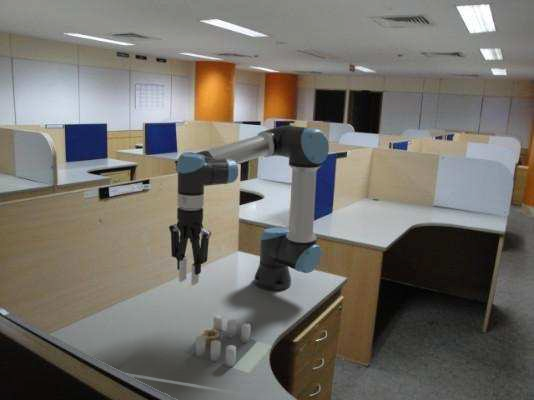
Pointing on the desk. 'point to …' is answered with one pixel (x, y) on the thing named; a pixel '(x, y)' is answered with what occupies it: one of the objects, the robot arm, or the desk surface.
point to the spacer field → (231, 347)
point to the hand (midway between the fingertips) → (188, 281)
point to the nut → (211, 336)
